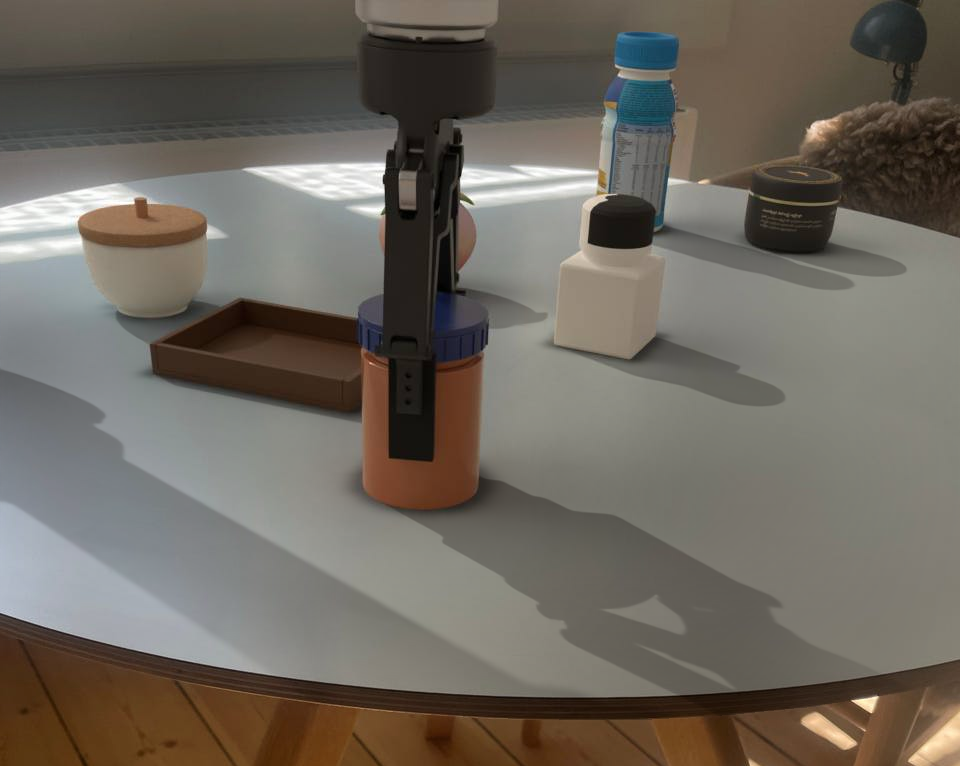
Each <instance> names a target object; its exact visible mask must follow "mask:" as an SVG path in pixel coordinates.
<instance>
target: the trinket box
mask: <svg viewBox="0 0 960 766" xmlns="http://www.w3.org/2000/svg"><path fill="white" fill-rule="evenodd" d="M133 201H134V202H133V203H129V204H116V205H111V206H105V207H100V208H96V209H93V210H90V211H87V212H85V213H83V214H82V215H81V216H80V217H79V218H78V220H77V225H78V226H77V227H78V233H79V235H80V237H81V244H82V250H83V256H84V260H85V264H86V268H87V270H88V272H89V275H90V278H91V280H92V282H93V283H94V285H95V287H96V289H97V290H98V291H99V293H100V294H102V296H103V297H104V298H105V299H106V300H107V301H108V302H109V303H111V304H112V305H114V306H115V307H116V309H117V311H118V312H119V313H121V314H122V315H125V316H127V317H128V316H129V317H132V318H141V319H157V318H158V319H160V318H166V317H171V316H177V315H180V314H182V313H183V312H185V311H186V310H187V309H188V307H189V306H188V305H189V304H190V303H191V301H192V300H193V299H194V298H195V297H196V296H197V294H198V293H199V291H200V290H201V288H202V286H203V283H204V281H205V277H206V272H207V267H208V265H207V264H208V238H207V231H208V221H207V218H206V216H205V215H204V214H203V213H202V212H199V211H198V210H195V209H192V208H189V207H185V206H179V205H172V204H162V203H148V200H147V197H144V196H143V197H142V196H139V197H134V198H133Z"/></svg>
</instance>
